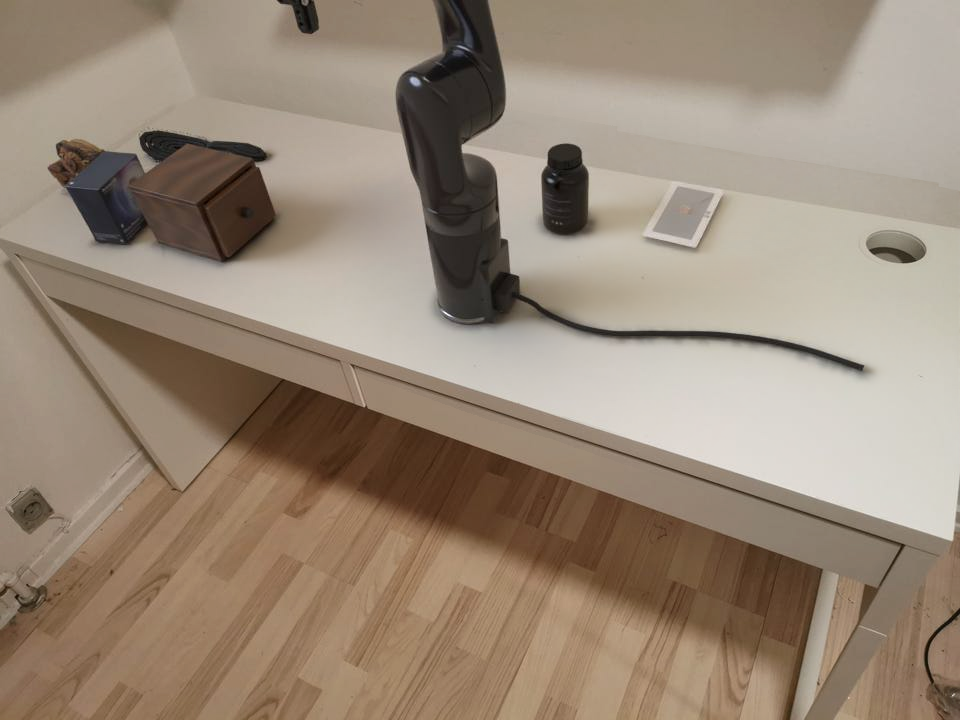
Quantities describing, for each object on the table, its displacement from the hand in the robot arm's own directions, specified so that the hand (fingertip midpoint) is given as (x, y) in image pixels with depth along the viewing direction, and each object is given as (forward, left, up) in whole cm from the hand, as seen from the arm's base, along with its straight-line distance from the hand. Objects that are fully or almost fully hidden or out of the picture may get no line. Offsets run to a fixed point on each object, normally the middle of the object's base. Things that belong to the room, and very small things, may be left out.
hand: (310, 31), depth 96 cm
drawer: (+14, +15, -26) cm, 33 cm away
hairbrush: (+35, -3, -27) cm, 44 cm away
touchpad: (-51, -13, -27) cm, 59 cm away
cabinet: (+16, +15, -27) cm, 35 cm away
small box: (+32, +19, -27) cm, 46 cm away
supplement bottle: (-35, -6, -27) cm, 45 cm away
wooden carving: (+44, +15, -27) cm, 54 cm away
